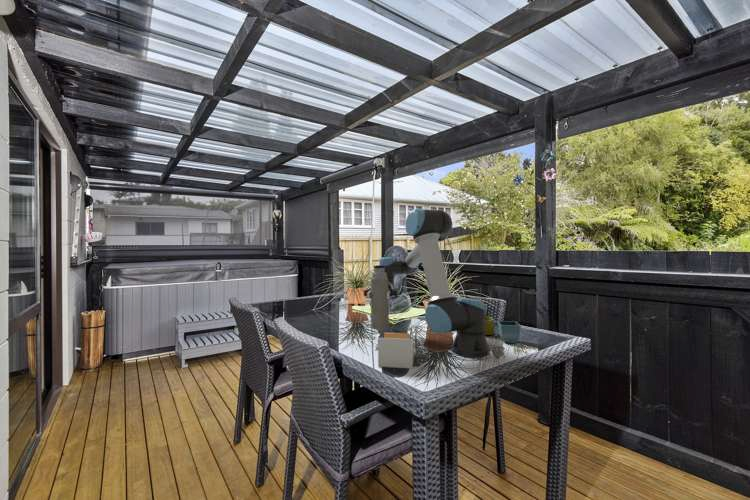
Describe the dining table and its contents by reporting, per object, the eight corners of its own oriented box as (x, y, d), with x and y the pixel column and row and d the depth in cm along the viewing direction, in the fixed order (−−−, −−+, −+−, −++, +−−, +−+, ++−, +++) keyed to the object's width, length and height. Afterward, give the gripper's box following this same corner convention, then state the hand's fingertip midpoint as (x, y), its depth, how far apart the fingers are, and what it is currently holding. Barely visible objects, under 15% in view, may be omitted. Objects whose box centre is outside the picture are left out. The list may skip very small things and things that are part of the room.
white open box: (383, 352, 152) (383, 327, 151) (414, 354, 150) (414, 328, 150) (378, 366, 135) (378, 338, 135) (412, 368, 133) (412, 339, 133)
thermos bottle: (385, 325, 164) (384, 264, 163) (391, 329, 156) (390, 265, 156) (369, 326, 161) (368, 265, 161) (373, 330, 154) (373, 266, 153)
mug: (493, 327, 187) (490, 311, 184) (498, 338, 177) (495, 321, 174) (470, 331, 189) (467, 315, 186) (473, 342, 179) (470, 325, 176)
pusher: (384, 357, 142) (384, 332, 142) (409, 358, 141) (409, 333, 140) (383, 360, 139) (383, 334, 138) (409, 361, 137) (408, 335, 137)
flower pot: (497, 339, 172) (497, 320, 172) (516, 339, 171) (516, 321, 171) (501, 344, 163) (501, 325, 163) (520, 344, 162) (521, 325, 162)
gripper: (405, 297, 175) (401, 304, 152) (364, 296, 178) (354, 304, 155) (405, 281, 174) (401, 287, 152) (364, 281, 178) (354, 287, 155)
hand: (377, 295), depth 154 cm, fingers closed on thermos bottle, 8 cm apart
